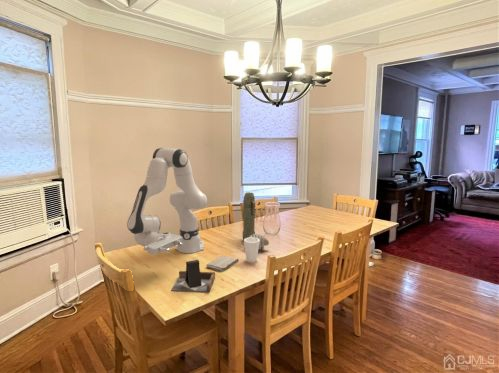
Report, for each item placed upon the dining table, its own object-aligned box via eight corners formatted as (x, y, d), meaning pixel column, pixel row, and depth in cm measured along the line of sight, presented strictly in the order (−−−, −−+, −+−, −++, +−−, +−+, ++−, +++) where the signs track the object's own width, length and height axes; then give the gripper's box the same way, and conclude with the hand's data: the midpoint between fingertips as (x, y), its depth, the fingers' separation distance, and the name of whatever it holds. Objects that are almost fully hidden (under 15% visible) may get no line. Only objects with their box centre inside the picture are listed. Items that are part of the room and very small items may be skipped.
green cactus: (250, 244, 219) (250, 195, 213) (238, 240, 228) (238, 192, 222) (259, 241, 225) (259, 193, 219) (247, 237, 234) (248, 191, 228)
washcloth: (205, 268, 181) (205, 263, 181) (222, 258, 197) (222, 253, 196) (222, 273, 176) (222, 268, 175) (238, 262, 191) (239, 257, 191)
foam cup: (248, 256, 199) (248, 236, 197) (261, 258, 195) (262, 238, 193) (241, 261, 191) (241, 241, 188) (255, 264, 187) (255, 243, 184)
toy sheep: (269, 253, 205) (270, 236, 203) (243, 253, 203) (243, 237, 201) (267, 247, 215) (267, 231, 213) (242, 247, 214) (242, 231, 212)
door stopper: (184, 280, 164) (184, 258, 162) (196, 278, 166) (195, 256, 164) (190, 288, 156) (189, 265, 154) (201, 285, 159) (201, 263, 156)
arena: (179, 277, 170) (179, 271, 169) (214, 278, 168) (214, 272, 168) (171, 291, 155) (170, 284, 154) (209, 292, 154) (209, 285, 153)
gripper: (141, 242, 163) (159, 248, 156) (171, 231, 180) (188, 236, 172) (142, 254, 165) (159, 260, 157) (171, 241, 181) (189, 246, 174)
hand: (175, 247), depth 165 cm, fingers open, 8 cm apart
